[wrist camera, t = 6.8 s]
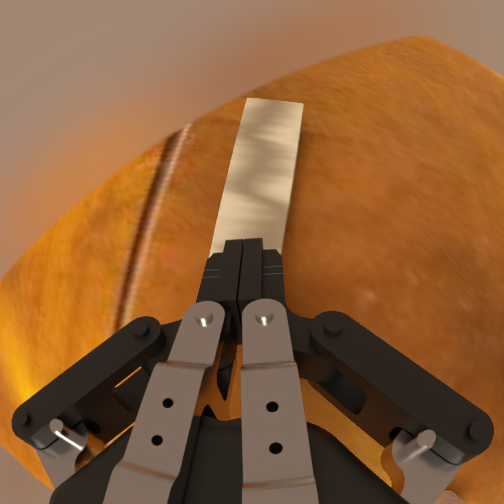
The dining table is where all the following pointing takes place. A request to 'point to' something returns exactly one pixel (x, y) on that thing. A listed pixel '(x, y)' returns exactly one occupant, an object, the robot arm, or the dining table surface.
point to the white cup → (449, 498)
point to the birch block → (260, 175)
